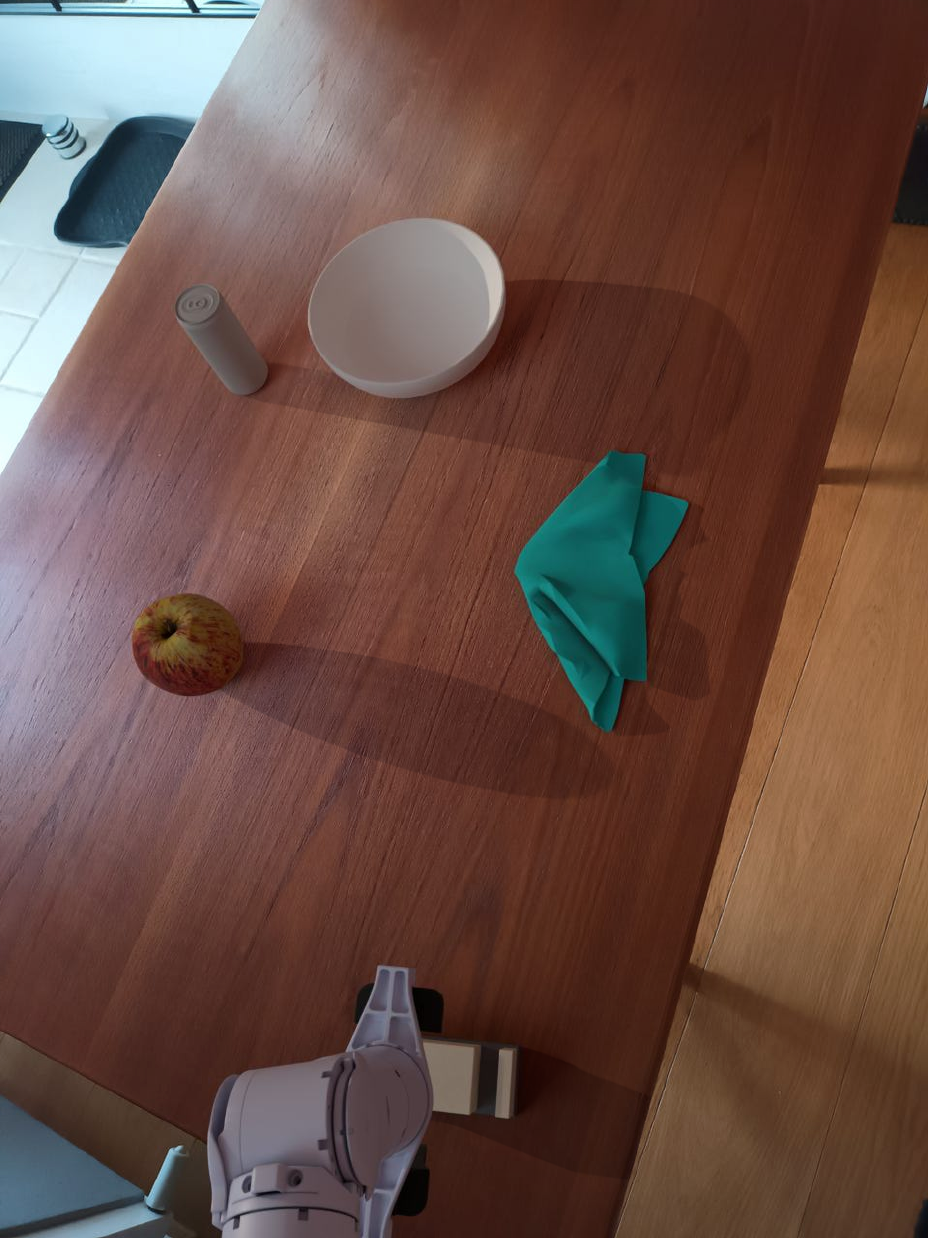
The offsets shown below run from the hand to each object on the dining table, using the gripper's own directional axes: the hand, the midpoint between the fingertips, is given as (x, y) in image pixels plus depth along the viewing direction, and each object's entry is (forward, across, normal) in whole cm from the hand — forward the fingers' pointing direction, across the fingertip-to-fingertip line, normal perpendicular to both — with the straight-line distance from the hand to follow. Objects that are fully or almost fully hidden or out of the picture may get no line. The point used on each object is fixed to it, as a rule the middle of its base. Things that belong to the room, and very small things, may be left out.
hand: (417, 1083), depth 64 cm
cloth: (+10, -40, +10) cm, 43 cm away
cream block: (+9, 0, 0) cm, 9 cm away
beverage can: (+10, -63, -27) cm, 69 cm away
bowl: (+10, -67, -9) cm, 68 cm away
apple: (+10, -32, -25) cm, 42 cm away
